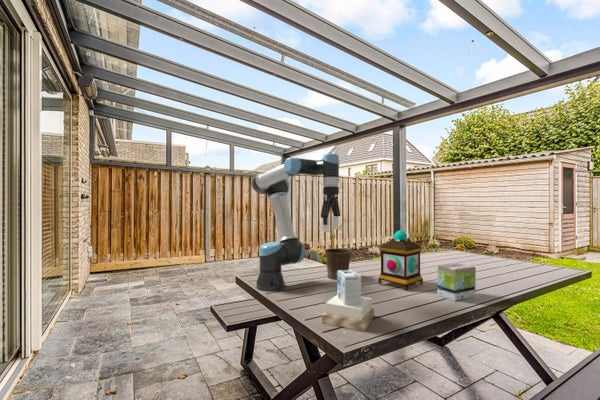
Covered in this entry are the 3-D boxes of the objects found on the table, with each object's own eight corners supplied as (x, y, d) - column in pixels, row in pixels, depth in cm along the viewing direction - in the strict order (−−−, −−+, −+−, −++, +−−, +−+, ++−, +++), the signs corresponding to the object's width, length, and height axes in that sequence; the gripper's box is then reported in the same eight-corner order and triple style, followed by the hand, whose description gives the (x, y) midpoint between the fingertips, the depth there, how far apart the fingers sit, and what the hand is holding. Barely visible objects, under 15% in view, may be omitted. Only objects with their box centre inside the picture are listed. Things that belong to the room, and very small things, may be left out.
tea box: (455, 301, 137) (455, 269, 137) (436, 295, 146) (436, 265, 146) (476, 297, 144) (476, 266, 144) (456, 291, 153) (456, 262, 153)
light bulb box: (336, 296, 122) (336, 269, 122) (352, 295, 123) (352, 269, 123) (344, 305, 111) (344, 276, 111) (362, 304, 112) (362, 275, 112)
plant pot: (353, 281, 172) (353, 252, 172) (325, 280, 173) (325, 252, 173) (349, 274, 189) (349, 248, 189) (323, 274, 189) (323, 248, 189)
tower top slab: (325, 313, 114) (325, 303, 114) (338, 302, 126) (338, 293, 126) (361, 320, 107) (361, 309, 107) (371, 308, 120) (371, 298, 120)
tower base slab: (322, 325, 113) (322, 314, 113) (336, 311, 127) (336, 301, 127) (364, 333, 106) (364, 321, 106) (373, 317, 120) (373, 307, 120)
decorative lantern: (407, 292, 151) (407, 232, 151) (374, 284, 166) (374, 230, 166) (426, 285, 164) (426, 230, 164) (394, 278, 179) (394, 227, 179)
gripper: (329, 185, 131) (329, 233, 131) (346, 187, 153) (346, 228, 153) (313, 185, 134) (313, 232, 134) (332, 187, 156) (332, 228, 156)
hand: (330, 230), depth 143 cm, fingers open, 13 cm apart
